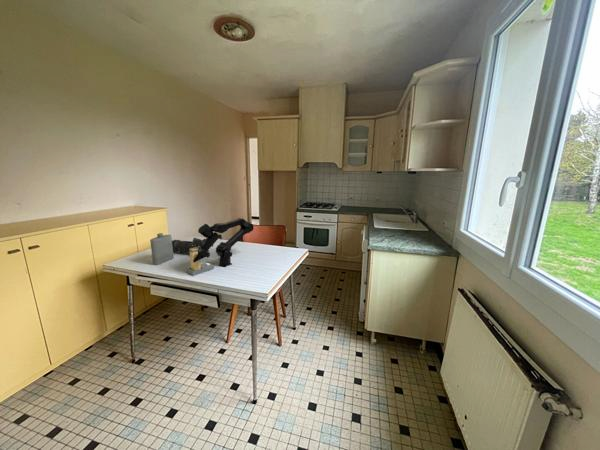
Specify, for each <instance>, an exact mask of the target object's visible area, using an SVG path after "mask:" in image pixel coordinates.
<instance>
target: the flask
mask: <svg viewBox="0 0 600 450" xmlns="http://www.w3.org/2000/svg"><path fill="white" fill-rule="evenodd" d="M172 240H173V239H172V234H163V232H158V233H157V234H156V236H155V237H152V238H151V239H150V250H151V257H152V264H153V265H154V266H159V265H162V264H164V263H166V262H169V261H172V260H174V252H173V247H172Z"/></svg>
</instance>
